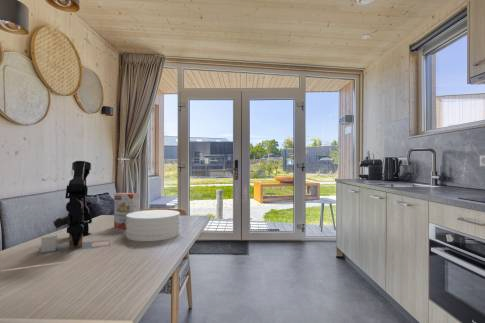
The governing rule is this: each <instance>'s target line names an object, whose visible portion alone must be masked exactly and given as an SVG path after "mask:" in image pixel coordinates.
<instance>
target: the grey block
mask: <svg viewBox="0 0 485 323" xmlns="http://www.w3.org/2000/svg"><path fill="white" fill-rule="evenodd" d="M40 241H41V244H40V246H41V252H47V251H55V250H56V248H57V246H58V244H57V243H58V242H57V241H58V235H57V234H55V233H54V234H43V235H42V237H41V240H40Z"/></svg>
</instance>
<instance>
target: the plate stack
mask: <svg viewBox="0 0 485 323" xmlns="http://www.w3.org/2000/svg"><path fill="white" fill-rule="evenodd" d="M180 215H181V213H180V211H178V210H173V209H149V210H148V209H147V210H139V211H138V212H133V213H129V214H127V215H126V218H127V220H126V223H127V224H126V228H125V229H126V230H125V238H126V239H128V240H130V241H136V242H155V241H162V240H163V241H164V240H168V239H172V238H175V237H178V236H179V235H180V234H179V233H181V231H180V229H181V227H180V224H181V222H180V220H181V218H180V217H181V216H180Z"/></svg>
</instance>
